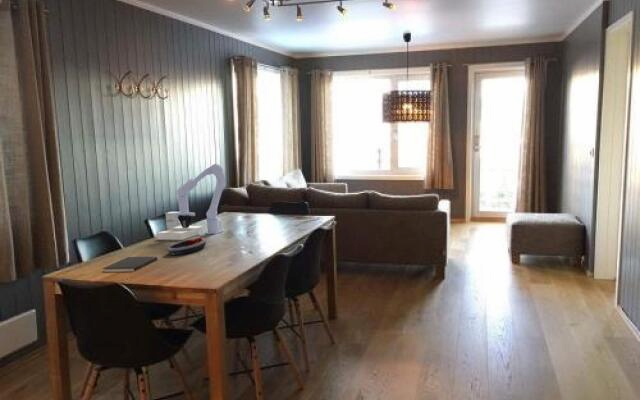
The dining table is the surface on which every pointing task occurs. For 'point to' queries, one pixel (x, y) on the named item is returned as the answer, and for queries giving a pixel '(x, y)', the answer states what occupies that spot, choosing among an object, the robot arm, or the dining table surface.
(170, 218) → the supplement box
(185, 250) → the dish
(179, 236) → the carton
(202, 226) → the flap
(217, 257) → the dining table surface
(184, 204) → the robot arm
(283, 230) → the dining table surface
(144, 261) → the hardcover book
